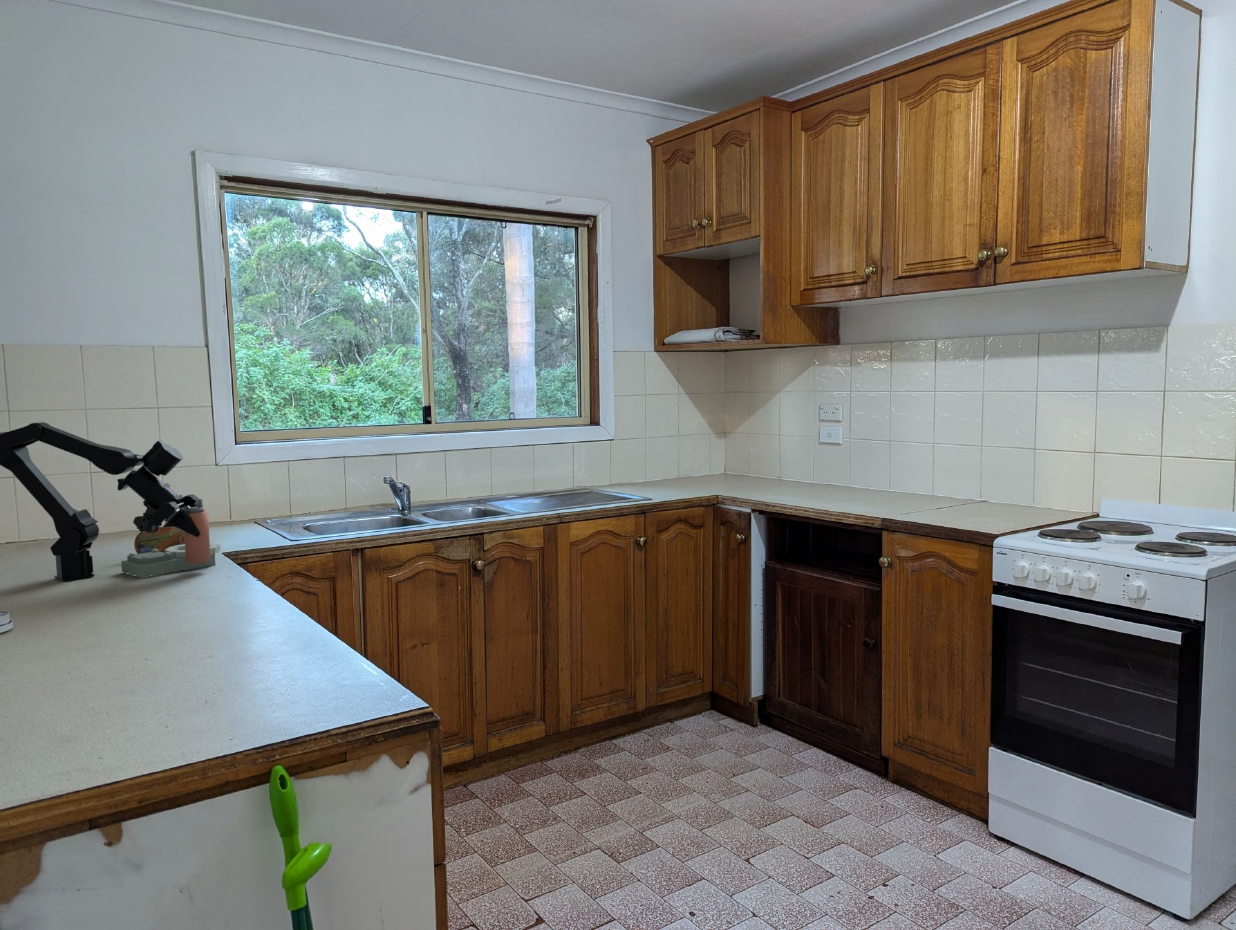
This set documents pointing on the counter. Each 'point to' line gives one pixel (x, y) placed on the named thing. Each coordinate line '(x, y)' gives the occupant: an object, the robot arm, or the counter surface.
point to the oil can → (198, 546)
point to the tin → (159, 539)
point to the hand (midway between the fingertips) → (203, 533)
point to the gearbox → (164, 561)
